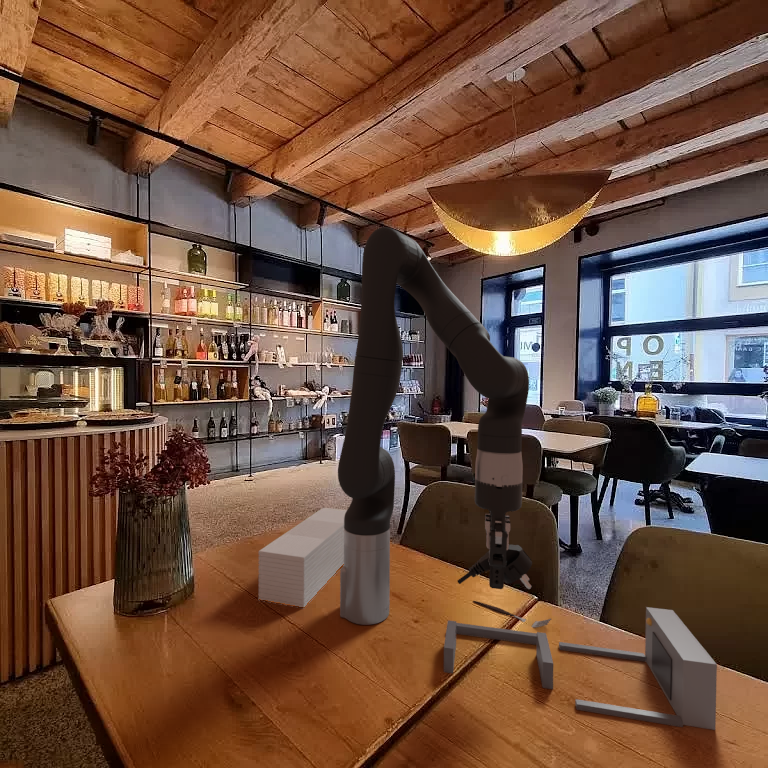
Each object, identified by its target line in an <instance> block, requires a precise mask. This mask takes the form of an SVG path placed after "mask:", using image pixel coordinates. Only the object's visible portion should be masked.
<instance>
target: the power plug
mask: <svg viewBox="0 0 768 768" xmlns="http://www.w3.org/2000/svg"><path fill="white" fill-rule="evenodd" d="M493 557H498V558H502V554H493ZM488 559H489V550H488V551H486V552H485V554H484V555H483V556H481V557H479V559H478V560H477V561H476V562H475V563H474V564H472V566H471V567H470V568H469V569H468V572H467V573H466V574H464V575H463V576H462V577H460V578H458V579H457V581H456V582H457V583H458V584H459V585H461V584H462V583H464V582H465V581H467V579H469V578H470V577H472V578H475V577H477V576H479V575H482V573H485V572H487V571H489V569H490V565H489V562H488ZM506 562H507V565H506V567H504V584H505V583H506V584H509V585H510V584H512V583H513V584H514V583H515V582H516V581H519V580H520V581H521V583H522V584H523V585H524V587H526V589H528V590H530V589H531V588H532V585H531V584H530V582H529V581H530V578H529V576H528V575H527V573H528V572H529V571H530V569H531V567H532V565H533V561H532V558H531V557H530V556H529V555H528V553H527V552H525V550H524V549H523V548H522V546H520V545H519V544H509V549H508V550H507V551H506Z"/></svg>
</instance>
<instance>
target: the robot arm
mask: <svg viewBox="0 0 768 768" xmlns="http://www.w3.org/2000/svg"><path fill="white" fill-rule="evenodd" d="M362 253H363V254H362V264H361V265H362V266H361V267H362V269H361V300H360V301H361V303H360V304H361V306H360V315H359V324H358V337H357V344H356V350H355V356H354V364H353V373H352V386H351V393H350V401H349V406H348V407H349V408H348V417H347V424H346V430H345V434H344V439H343V443H342V447H341V452H340V454H339V455H340V457H339V460H338V466H337V480H338V483H339V486H340V488H341V490H342V491H343V493H344V494H345V495H346V496H348V497H349V498H351V502H350V505H349V506H348V508H347V509H346V510H347V511H346V513H345V516H344V565H343V567H342V568H341V569H340V570H339V571H340V572H339V573H340V579H339V581H340V584H339V587H340V589H339V590H340V592H339V594H340V595H339V599H340V601H339V608H340V609H339V611H340V612H339V616H340V617H341V618H344V619H346V620H348V621H349V622H351V623H353V624H357V625H364V626H365V625H375V624H378V623H381V622H383V621H385V620H386V619H387V618H388V617H389V616H390V615H389V614H390V601H391V600H390V583H391V582H390V579H391V576H390V575H391V573H390V571H391V570H390V567H391V565H390V564H391V563H390V562H391V560H390V559H391V555H390V553H391V550H390V549H391V543H390V542H391V519H392V515H393V512H394V507H395V485H396V470H395V469H396V468H395V463H394V461H393V458H392V455H391V454H390V453H389V452H388V450H386V449H385V448H384V447H381V441H382V434H383V431H384V430H383V429H384V425H385V423H386V419H387V417H388V414H389V412H390V410H391V408H392V405H393V403H394V401H395V399H396V396H397V393H398V390H399V388H400V382H401V377H402V376H401V375H402V367H403V361H404V346H403V341H402V338H401V334H400V329H399V325H398V320H397V317H396V309H395V300H396V299H395V297H396V296H395V295H396V290H397V285H398V286H400V287H401V288H403V289H404V290H405V291H406V292H407V293H409V294H410V295H411V297H413V298H414V299H415V300H416V301H417V303H418V304H419V306H420V307H421V309H422V312H424V316H425V317H426V320H427V322H428V324H429V326H430V328H431V329H432V331H433V332H434V334H435V335H436V336H437V338H438V339H439V340H440V341H441V342H442V344H443V345H444V346H445V347H446V349H448V350H449V352H450V353H451V354H452V355H453V356H454V357H455V358H456V360H457V362H458V365H459V367H460V368H461V371H462V373H463V374H464V376H465V377H466V379H467V381H468V382H469V384H470V385H471V386H472V387H473V389H475V391H476V392H478V393H479V394H480V395H481V396H482V397H484V398H485V399H487V406H486V411H485V413H484V414H482V415H481V416H480V418H479V419H478V425H477V445H476V446H477V450H476V458H475V464H474V465H475V466H474V467H475V469H474V471H475V473H474V474H475V475H474V476H475V477H474V503H475V505H476V506H477V507H479V508H481V509H482V510H488V512H489V513H485V515H484V519H485V520H484V526H485V527H484V529H485V533H486V536H485V537H486V543H485V544H486V545H485V546H486V548H487V549H488V551H489V559H488V562H489V565H490V569H489V570H488V571H489V578H488V579H489V581H488V582H489V584H488V585H489V587H490V588H491V589H494V590H495V589H496V590H502V589H504V587H505V586H504V585H505V582H504V567H506V565H507V562H506V551H507V550H508V549H509V541H510V537H509V536H510V535H509V534H510V531H511V520H510V515H506V514H507V513H509V512H512V513H513V512H516V511H518V510H520V509H521V508H522V505H523V471H524V470H523V468H524V465H523V457H522V453H523V452H522V448H523V447H522V443H523V442H522V440H523V436H522V435H523V428H522V427H523V426H522V425H523V419H524V416H525V412H526V407H527V403H528V397H529V389H530V377H529V372H528V369H527V367H526V365H525V364H524V363H523V362H522V361H521V360H519V359H518V358H516V357H512V356H506V355H505V356H504V355H503V354H502V353H501V352H500V351H498V350H497V348H496V347H495V346H494V344H493V343H492V342H491V336H490V333H489V332H488V330H487V329H486V328H485V326H484V325H483V324H482V323H481V322H480V321H479V320H478V318H476V316H475V315H474V314H473V313H472V311H470V310H469V309H468V307H466V305H464V303H462V302H461V300H460V299H459V298H458V297H457V296H456V295H455V294H454V293H453V292H452V291H451V289H450V288H449V287H448V286H447V285H446V284H445V282H444V281H443V280H442V279H441V277H440V276H439V274H438V272H437V271H436V270H435V268H434V267H433V265H432V263H431V262H430V259H428V257H427V256H426V254H425V252H424V250H423V249H422V248H421V246H420V245H419V243H418V242H417V241H416V240H414V239H413V238H412V237H409V236H408V235H405V234H403V233H402V232H400V231H399V230H396V229H393V228H391V227H387V226H382V227H378V228H377V229H375V230H374V231H373V232H371V234H370V235H369V237H368V238H367V240H366V243H365V246H364V249H363V252H362ZM493 554H502V558H498V557H493Z"/></svg>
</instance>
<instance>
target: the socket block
mask: <svg viewBox="0 0 768 768" xmlns="http://www.w3.org/2000/svg"><path fill="white" fill-rule="evenodd" d="M558 648H559V650H560V651H566V652H567V651H568V652H575V653H581V654H589V655H594V656H603V657H610V658H616V659H623V660H630V661H631V660H632V661H639V662H644V663H645V662H646V664H647V666H648V667H649V669H650V671H651V672H652V674H653V676H654V678H655V681H656V682H657V683H658V685H659V687H660V689H661V690H662V692H663V694H664V695H665V697H666V699H667V702H668V703H669V704H670V706H671V707H672V709H673V711H674V714H671V713H670V714H669V713H664V712H658V711H652V710H645V709H638V708H634V707H628V706H621V705H614V704H609V703H602V702H597V701H596V702H595V701H590V700H582V699H578V698H575V699H574V700H575V703H574V705H575V708H576V710H577V711H584V712H589V713H596V714H601V715H606V716H613V717H620V718H625V719H631V720H637V721H643V722H648V723H656V724H662V725H666V726H673V727H679V728H680V727H681V728H683V727H684V726H689V727H695V728H701V729H707V730H713V731H716V726H717V725H716V722H717V720H716V715H717V681H718V680H717V679H718V678H717V674H718V673H717V671H718V670H717V669H718V664H717V662H715V661H714V659H713V658H712V657H711V655H710V654H709V653H708V652H707V650H706V649H705V648H704V647H703V646H702V644H701V643H700V642H699V641H698V639H697V638H696V637H695V636H694V634H693V633H692V632H691V631H690V629H689V628H688V627H687V625H685V624H684V622H683V621H682V619H681V618H680V617H679V616H678V614H677V613H676V612H675V611H674V610H673V609H667V608H666V609H665V608H657V607H648V606H645V647H644V650H645V651H644V652H645V653H643V652H638V651H629V650H628V651H627V650H623V649H615V648H606V647H600V646H599V647H598V646H592V645H586V644H585V645H584V644H577V643H570V642H563V641H559V642H558Z"/></svg>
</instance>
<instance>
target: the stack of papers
mask: <svg viewBox="0 0 768 768" xmlns="http://www.w3.org/2000/svg"><path fill="white" fill-rule="evenodd" d="M347 510H348V509H340V508H331V507H322V508H320V509H318V511H316V512H314V513H313V514H311V515H310V516H309V517H307V518H306V519H303V521H301V522H300V523H298V524H296V525H295V526H294V527H292V528H291V529H289V530H288V531H287V532H285V533H283V534H282V535H280V536H279V537H277V538H276V539H274V540H273V541H271V542H270V543H269V544H267V545H266V546H264V547H263V548H261V549H260V550H258V600H259V599H261V600H268V601H274V602H280V603H285V604H290V605H295V606H299V607H305V606H306V605H307V603H308V602H309V601H310V600H311V599H312V598H313V597H314V596H315V595H316V594H317V592H318V591H319V590H320V589H321V588H322V587H323V586H324V585H325V584H326V583H327V581H328V580H329V579H330V578H331V577H332V576H333V575H334V574H335V573H336V571H337V570H338V569H339V568H340V567H341V566H342V565H343V564H344V516H345V513H346V511H347ZM336 574H337V573H336ZM336 574H335V575H336ZM335 575H334V576H335ZM334 576H333V577H334ZM327 584H328V583H327ZM327 584H326V585H327ZM326 585H325V586H326ZM325 586H324V587H325ZM324 587H323V588H324ZM323 588H322V589H323ZM322 589H321V590H322ZM317 595H318V594H317ZM317 595H316V596H317ZM316 596H315V597H316ZM315 597H314V598H315ZM314 598H313V599H314ZM313 599H312V600H313ZM312 600H311V601H312ZM311 601H310V602H311ZM310 602H309V603H310ZM307 606H308V605H307ZM307 606H306V607H307ZM306 607H305V608H306Z"/></svg>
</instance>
